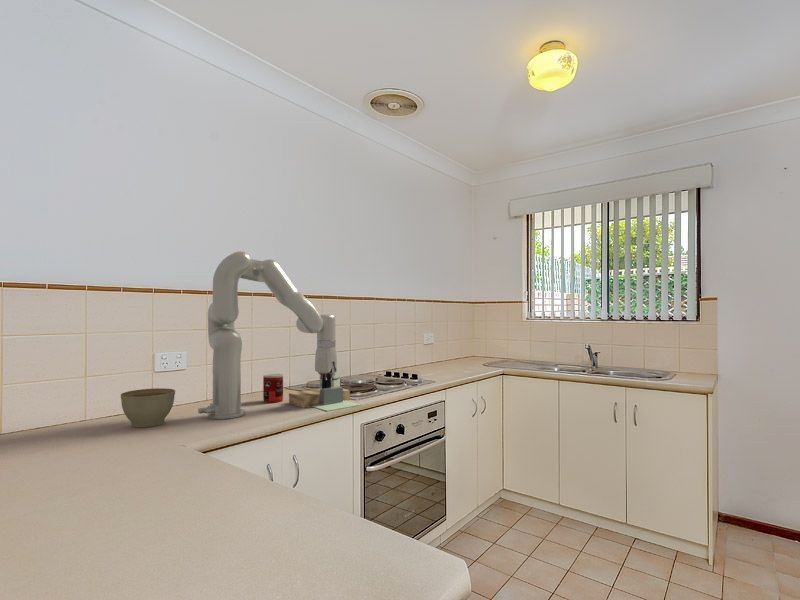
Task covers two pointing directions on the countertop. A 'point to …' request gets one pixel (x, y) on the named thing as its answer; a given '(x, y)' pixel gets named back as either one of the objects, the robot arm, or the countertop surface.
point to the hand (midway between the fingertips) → (326, 389)
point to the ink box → (333, 379)
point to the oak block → (311, 397)
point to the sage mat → (336, 406)
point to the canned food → (273, 388)
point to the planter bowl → (147, 406)
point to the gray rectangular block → (331, 395)
